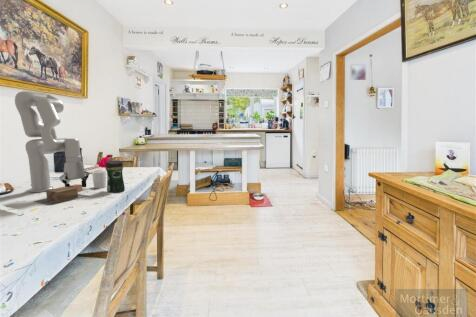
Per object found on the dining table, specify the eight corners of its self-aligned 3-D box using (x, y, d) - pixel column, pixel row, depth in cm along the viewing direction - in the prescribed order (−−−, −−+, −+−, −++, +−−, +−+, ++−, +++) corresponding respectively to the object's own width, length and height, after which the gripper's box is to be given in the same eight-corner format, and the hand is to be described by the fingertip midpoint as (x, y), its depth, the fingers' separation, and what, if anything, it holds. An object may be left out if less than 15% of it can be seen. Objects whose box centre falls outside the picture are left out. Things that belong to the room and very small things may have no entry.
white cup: (101, 188, 175) (100, 172, 174) (90, 188, 177) (89, 172, 175) (109, 185, 183) (108, 170, 182) (98, 185, 184) (97, 170, 183)
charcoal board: (33, 204, 140) (33, 201, 140) (72, 195, 157) (72, 192, 157) (51, 208, 133) (51, 205, 132) (90, 198, 150) (90, 195, 150)
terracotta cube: (69, 194, 161) (68, 185, 161) (77, 192, 166) (76, 184, 165) (74, 195, 159) (73, 186, 158) (82, 193, 163) (81, 184, 163)
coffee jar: (122, 188, 173) (120, 159, 171) (126, 191, 167) (124, 160, 165) (105, 191, 167) (103, 160, 165) (109, 193, 161) (107, 162, 159)
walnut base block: (47, 199, 143) (46, 190, 142) (66, 195, 152) (65, 186, 151) (58, 202, 138) (57, 192, 138) (77, 197, 147) (77, 188, 146)
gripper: (83, 158, 169) (86, 185, 171) (54, 161, 154) (57, 191, 156) (91, 158, 166) (94, 186, 168) (62, 161, 151) (65, 192, 152)
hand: (76, 188), depth 162 cm, fingers open, 9 cm apart
